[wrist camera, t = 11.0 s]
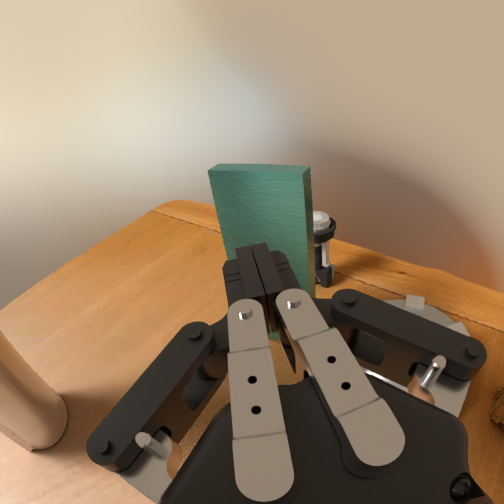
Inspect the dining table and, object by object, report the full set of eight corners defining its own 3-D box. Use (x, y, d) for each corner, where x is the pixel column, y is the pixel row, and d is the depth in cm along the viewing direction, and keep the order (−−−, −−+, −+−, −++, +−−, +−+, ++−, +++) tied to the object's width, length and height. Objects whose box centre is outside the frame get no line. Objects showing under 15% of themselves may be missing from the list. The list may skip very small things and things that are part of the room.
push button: (284, 279, 43) (277, 219, 37) (303, 260, 46) (299, 203, 40) (323, 295, 39) (323, 231, 33) (341, 273, 42) (342, 213, 36)
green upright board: (465, 323, 27) (512, 171, 16) (456, 439, 16) (582, 279, 6) (275, 284, 39) (255, 143, 28) (213, 372, 28) (148, 207, 18)
